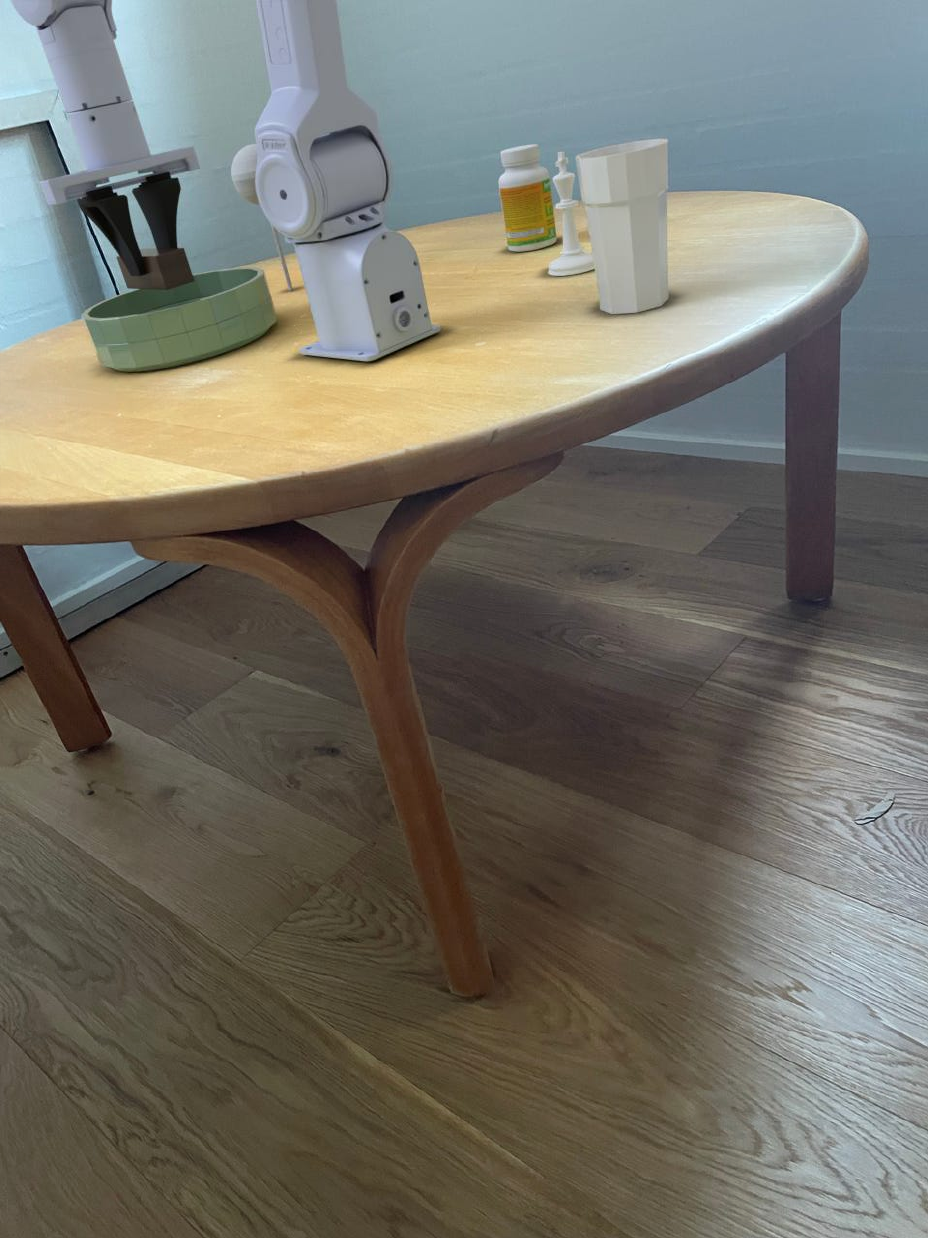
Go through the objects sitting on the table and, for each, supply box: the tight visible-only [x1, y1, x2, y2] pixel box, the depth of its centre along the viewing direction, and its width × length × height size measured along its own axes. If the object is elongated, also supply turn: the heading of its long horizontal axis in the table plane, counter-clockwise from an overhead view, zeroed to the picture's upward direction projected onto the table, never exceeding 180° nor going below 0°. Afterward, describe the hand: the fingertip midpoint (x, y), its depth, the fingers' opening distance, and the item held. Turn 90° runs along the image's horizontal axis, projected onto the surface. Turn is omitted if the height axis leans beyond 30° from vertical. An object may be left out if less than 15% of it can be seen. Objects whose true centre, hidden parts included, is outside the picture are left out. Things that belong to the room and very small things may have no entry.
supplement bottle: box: [497, 143, 557, 253], centre depth 97 cm, size 5×5×10 cm
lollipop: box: [230, 143, 294, 292], centre depth 100 cm, size 6×6×15 cm
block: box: [115, 247, 194, 290], centre depth 86 cm, size 8×3×3 cm, turn 46°
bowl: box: [80, 266, 277, 373], centre depth 87 cm, size 17×17×5 cm
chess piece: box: [547, 150, 595, 277], centre depth 83 cm, size 5×5×10 cm
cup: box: [575, 138, 670, 315], centre depth 68 cm, size 7×7×11 cm
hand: (155, 269), depth 86 cm, fingers closed on block, 3 cm apart
